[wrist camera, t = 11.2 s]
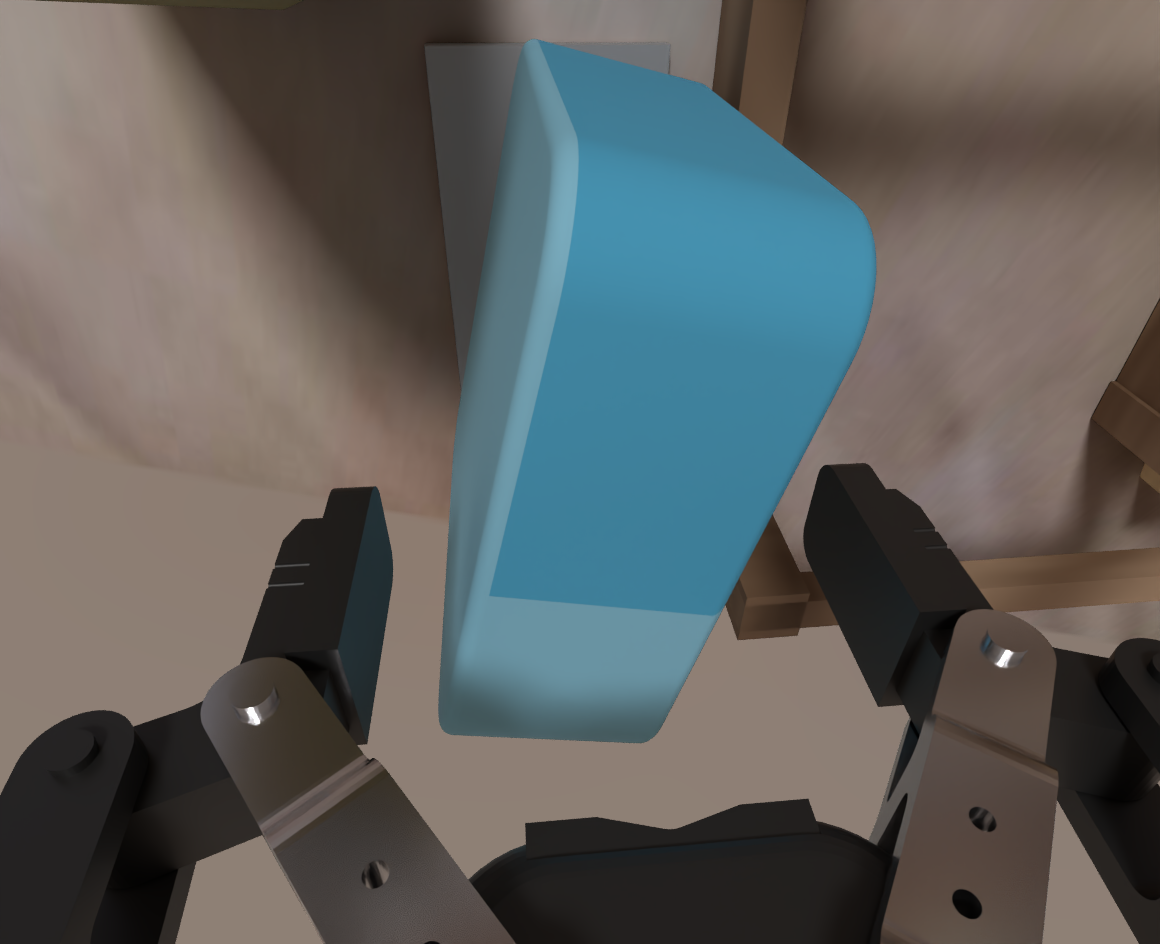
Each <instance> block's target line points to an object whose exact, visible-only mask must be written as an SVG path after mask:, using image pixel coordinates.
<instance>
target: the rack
mask: <svg viewBox="0 0 1160 944" xmlns="http://www.w3.org/2000/svg"><path fill="white" fill-rule="evenodd" d="M806 4H807V0H722V9H721V18H720V27H719V36H718V45H717V54H716V63H715V72H714V82H713V92H714V93H716V94H717V95H718V96H720V97H721V98H722V99H723V100H725V101H726V102H727V103H728V104H730V105H731V106H732V107H734V108H735V109H736V110H737V111H739V112H740V113H741V114H742V115H744V116H745V117H746V118H748V119H749V120H750V121H751V122H753V123H754V124H755V125H756V126H758V127H759V128H760V129H762V130H763V131H764V132H765V133H767V134H768V135H769V136H770V137H772V138H773V139H774V140H776V141H777V142H778V143H779V144H781V145H783V139H784V133H785V127H786V121H787V115H788V110H789V104H790V98H791V92H792V86H793V80H794V74H795V68H796V63H797V57H798V51H799V45H800V39H801V33H802V27H803V22H804V16H805V10H806ZM1092 419H1093V420H1094V421H1095V422H1096V423H1098V424H1099V425H1100V426H1101V427H1102V428H1104V429H1105V430H1106V431H1107V432H1108V433H1110V434H1111V435H1112V436H1113V437H1114V438H1116V439H1117V440H1118V441H1119V442H1120V443H1122V444H1123V445H1124V446H1125V447H1126V448H1128V449H1129V450H1130V451H1131V452H1132V453H1134V454H1135V455H1136V456H1137V457H1138V458H1140V459H1141V460H1142V461H1143V462H1144V463H1146V464H1147V465H1148V466H1149V467H1150V468H1152V469H1153V470H1154V471H1155V472H1156V473H1158V474H1159V475H1160V301H1159V302H1158V304H1157V306H1156V308H1155V310H1154V312H1153V314H1152V315H1151V317H1150V319H1149V321H1148V323H1147V325H1146V327H1145V328H1144V330H1143V332H1142V334H1141V336H1140V338H1139V340H1138V341H1137V343H1136V345H1135V347H1134V349H1133V351H1132V353H1131V355H1130V356H1129V358H1128V360H1127V362H1126V364H1125V366H1124V368H1123V369H1122V371H1121V373H1120V375H1119V377H1118V379H1117V381H1111V382H1110V384H1109V386H1108V388H1107V390H1106V392H1105V394H1104V396H1103V398H1102V399H1101V401H1100V403H1099V405H1098V407H1097V409H1096V411H1095V413H1094V414H1093V416H1092ZM959 562H960V563H961V565H962V566H963V567H964V569H965V570H966V572H967V573H968V574H969V576H970V577H971V579H972V580H973V581H974V583H975V584H976V586H977V587H978V588H979V590H980V591H981V593H982V594H983V595H984V597H985V598H986V600H987V601H988V602H989V604H990V605H991V607H992V608H993V609H994V610H997V611H1001V612H1016V611H1029V610H1042V609H1055V608H1068V607H1082V606H1095V605H1108V604H1121V603H1134V602H1147V601H1160V548H1146V549H1131V550H1117V551H1103V552H1088V553H1074V554H1059V555H1045V556H1030V557H1016V558H1002V559H987V560H973V561H959ZM725 605H726V608H727V611H728V614H729V616H730V619H731V622H732V625H733V628H734V631H735V634H736V636H737V640H746V639H759V638H772V637H784V636H797V635H798V632H799V629H800V628H806V627H819V626H832V625H839V624H838V622H837V620H836V618H835V616H834V614H833V612H832V610H831V608H830V606H829V604H828V602H827V599H826V597H825V595H824V593H823V591H822V589H821V587H820V585H819V583H818V581H817V579H816V577H815V575H814V572H800V571H799V569H798V567H797V565H796V563H795V561H794V559H793V556H792V554H791V552H790V550H789V548H788V546H787V544H786V542H785V540H784V538H783V535H782V533H781V531H780V529H779V527H778V525H777V523H776V521H775V519H774V517H773V514H772V516H771V518H770V520H769V522H768V524H767V526H766V528H765V530H764V532H763V534H762V535H761V537H760V539H759V541H758V543H757V545H756V547H755V549H754V551H753V553H752V555H751V556H750V558H749V560H748V562H747V564H746V566H745V568H744V570H743V572H742V574H741V576H740V578H739V579H738V581H737V583H736V585H735V587H734V589H733V591H732V593H731V595H730V597H729V599H728V601H727V602H726V604H725Z"/></svg>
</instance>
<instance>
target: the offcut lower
mask: <svg viewBox="0 0 1160 944" xmlns="http://www.w3.org/2000/svg"><path fill="white" fill-rule="evenodd" d="M1140 477H1141V478H1142V479H1143V480H1144V481H1146V482H1147V483H1148V484H1149V485H1150V486H1151V487H1152V488H1154V489H1155V490H1156V491H1157V492H1158V493H1159V494H1160V475H1159V474H1158V473H1156V472H1155V471H1154V470H1153V469H1152V468H1150V467H1149V466H1148V465H1147V464H1146V463H1145V464H1144V466H1143V469H1142V471H1141V474H1140Z"/></svg>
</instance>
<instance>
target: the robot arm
mask: <svg viewBox="0 0 1160 944" xmlns="http://www.w3.org/2000/svg"><path fill="white" fill-rule="evenodd" d="M803 539H804V549H805V554H806V557H807V560H808V562H809V564H810V566H811V568H812V570H813V572H814V575H815V577H816V579H817V581H818V583H819V585H820V587H821V589H822V591H823V593H824V595H825V597H826V599H827V602H828V604H829V606H830V608H831V610H832V612H833V614H834V616H835V618H836V620H837V622H838V624H839V626H840V628H841V631H842V633H843V635H844V637H845V639H846V641H847V643H848V645H849V647H850V649H851V651H852V653H853V655H854V658H855V659H856V662H857V664H858V666H859V668H860V670H861V672H862V674H863V676H864V678H865V680H866V683H867V685H868V687H869V689H870V691H871V693H872V695H873V697H874V699H875V701H876V703H877V705H878V707H883V706H896V705H904V706H905V708H906V710H907V712H908V714H909V716H910V718H909V720H908V722H907V724H906V726H905V728H904V732H903V735H902V739H901V742H900V745H899V748H898V752H897V755H896V759H895V762H894V765H893V768H892V772H891V775H890V778H889V782H888V785H887V788H886V792H885V795H884V798H883V802H882V805H881V809H880V812H879V815H878V817H877V821H876V823H875V826H874V828H873V831H872V833H871V836H870V838H869V840H866V839H864V838H862V837H861V836H859V835H857V834H854V833H852V832H849V831H847V830H845V829H842V828H839V827H836V826H833V825H829V824H826V823H823V822H818V821H816V819H815V817H814V814H813V811H812V808H811V805H810V803H809V799H800V800H788V801H776V802H765V803H754V804H742V805H738V806H735V807H733V808H730V809H728V810H725V811H722V812H720V813H717V814H715V815H712V816H709V817H707V818H704V819H701V820H699V821H696V822H694V823H691V824H688V825H686V826H683V827H681V828H677V829H662V828H656V827H650V826H645V825H639V824H633V823H627V822H621V821H615V820H610V819H604V818H598V817H592V818H581V819H569V820H557V821H546V822H535V823H526V824H525V827H526V845H523V846H521V847H518V848H516V849H513V850H510V851H509V852H507V853H505V854H503V855H501V856H499V857H497V858H495V859H494V860H492V861H491V862H490V863H488V864H487V865H486V866H484V867H483V868H481V869H480V870H479V871H478V872H476V873H475V874H474V875H473V876H472V877H471V878H470V879H467V878H466V876H465V875H464V873H463V872H462V871H461V869H460V868H459V867H458V865H457V864H456V863H455V861H454V860H453V859H452V857H451V856H450V855H449V853H448V852H447V850H446V849H445V848H444V847H443V845H442V844H441V842H440V841H439V840H438V838H437V837H436V836H435V834H434V833H433V832H432V830H431V829H430V828H429V827H428V825H427V824H426V822H425V821H424V820H423V819H422V817H421V816H420V814H419V813H418V812H417V810H416V809H415V808H414V806H413V805H412V804H411V802H410V801H409V800H408V798H407V797H406V796H405V794H404V793H403V792H402V790H401V789H400V788H399V786H398V785H397V783H396V782H395V781H394V779H393V778H392V777H391V775H390V774H389V773H388V772H387V770H386V769H385V768H384V767H383V766H382V764H381V763H380V762H379V761H378V760H376V759H375V758H372V759H371V760H369V759H368V758H367V757H366V756H365V755H364V754H363V753H362V751H361V750H360V748H359V747H358V746H357V745H363V744H367V742H368V735H369V729H370V723H371V716H372V710H373V703H374V697H375V690H376V684H377V678H378V671H379V665H380V659H381V652H382V646H383V639H384V633H385V627H386V620H387V614H388V608H389V601H390V594H391V588H392V581H393V559H392V550H391V545H390V541H389V536H388V531H387V526H386V522H385V517H384V512H383V507H382V502H381V498H380V493H379V490H378V488H377V487H376V486H374V487H354V488H334V489H332V490H331V492H330V495H329V498H328V502H327V505H326V509H325V512H324V516H323V518H318V519H317V518H316V519H302V520H301V521H300V522H299V524H298V525H297V526H296V527H295V528H294V529H293V530H292V531H291V532H290V533H289V534H288V536H287V537H286V538H285V539H284V540H283V542H282V545H281V548H280V551H279V553H278V556H277V560H276V562H275V569H273V571H272V574H271V577H270V580H269V583H268V585H269V587H268V588H267V589H266V591H265V595H264V597H263V601H262V603H261V606H260V609H259V612H258V615H257V618H256V621H255V624H254V627H253V629H252V633H251V635H250V638H249V641H248V644H247V647H246V650H245V653H244V656H243V659H242V661H241V663H240V665H238V666H237V667H235V668H233V669H231V670H230V671H228V672H227V673H226V674H224V675H223V676H222V677H220V678H219V679H218V680H217V681H216V682H215V684H214V685H213V686H212V687H211V688H210V690H209V691H208V693H207V694H206V697H205V698H204V700H203V701H202V702H200V703H198V704H196V705H194V706H192V707H189V708H187V709H184V710H181V711H178V712H176V713H173V714H169V715H167V716H163V717H160V718H157V719H154V720H152V721H149V722H146V723H143V724H140V725H137V726H134V727H133V726H132V725H131V723H130V721H129V720H128V719H127V718H126V717H125V716H123V715H121V714H119V713H116V712H113V711H106V710H98V711H90V712H85V713H82V714H78V715H75V716H72V717H70V718H68V719H65V720H63V721H61V722H60V723H58V724H56V725H54V726H53V727H51V728H50V729H48V730H47V731H45V732H44V733H43V734H41V735H40V736H39V737H38V738H36V740H34V741H33V742H32V743H31V745H29V746H28V747H27V749H26V750H25V751H24V752H23V754H22V755H21V756H20V758H19V760H18V762H17V763H16V765H15V767H14V769H13V771H12V773H11V775H10V777H9V779H8V781H7V783H6V785H5V787H4V789H3V791H2V793H1V795H0V944H175V942H176V938H177V934H178V931H179V927H180V922H181V919H182V915H183V911H184V907H185V903H186V900H187V896H188V892H189V888H190V884H191V880H192V876H193V872H194V869H195V865H196V861H199V860H201V859H204V858H206V857H209V856H211V855H214V854H216V853H219V852H221V851H224V850H226V849H229V848H231V847H234V846H236V845H238V844H241V843H243V842H246V841H248V840H251V839H253V838H255V837H258V836H261V835H263V837H264V839H265V841H266V842H267V844H268V846H269V848H270V850H271V852H272V853H273V855H274V857H275V859H276V860H277V862H278V864H279V866H280V868H281V869H282V871H283V873H284V875H285V876H286V878H287V880H288V882H289V884H290V886H291V887H292V889H293V891H294V893H295V894H296V896H297V898H298V900H299V902H300V903H301V905H302V907H303V909H304V911H305V912H306V914H307V916H308V918H309V919H310V921H311V923H312V925H313V926H314V928H315V930H316V932H317V934H318V936H319V937H320V939H321V941H322V943H323V944H1042V940H1043V930H1044V920H1045V911H1046V901H1047V891H1048V882H1049V872H1050V862H1051V851H1052V841H1053V833H1054V822H1055V813H1056V804H1057V801H1058V802H1059V804H1060V806H1061V808H1062V809H1063V811H1064V813H1065V814H1066V816H1067V818H1068V820H1069V821H1070V823H1071V825H1072V827H1073V829H1074V830H1075V832H1076V834H1077V835H1078V837H1079V839H1080V841H1081V843H1082V844H1083V846H1084V848H1085V850H1086V851H1087V853H1088V855H1089V857H1090V858H1091V860H1092V862H1093V864H1094V865H1095V867H1096V869H1097V871H1098V872H1099V874H1100V876H1101V878H1102V879H1103V881H1104V883H1105V885H1106V886H1107V888H1108V890H1109V892H1110V894H1111V895H1112V897H1113V899H1114V901H1115V902H1116V904H1117V906H1118V907H1119V909H1120V911H1121V913H1122V914H1123V916H1124V918H1125V920H1126V922H1127V923H1128V925H1129V927H1130V929H1131V930H1132V932H1133V934H1134V936H1135V937H1136V939H1137V941H1138V943H1139V944H1160V786H1159V785H1158V784H1157V783H1158V782H1159V781H1160V641H1158V640H1154V639H1148V638H1135V639H1129V640H1126V641H1124V642H1122V643H1121V644H1120V645H1119V646H1118V647H1117V648H1116V649H1115V651H1114V652H1113V654H1112V655H1111V656H1110V658H1105V657H1099V656H1093V655H1089V654H1084V653H1078V652H1073V651H1068V650H1062V649H1058V648H1054V647H1052V646H1051V644H1050V643H1049V642H1048V640H1047V639H1046V638H1045V637H1044V636H1043V635H1042V634H1041V633H1040V632H1039V631H1038V630H1037V629H1036V628H1034V627H1033V626H1032V625H1030V624H1029V623H1027V622H1025V621H1024V620H1022V619H1020V618H1018V617H1016V616H1013V615H1011V614H1008V613H1005V612H1001V611H997V610H994V609H993V608H992V607H991V605H990V604H989V602H988V601H987V600H986V598H985V597H984V595H983V594H982V593H981V591H980V590H979V588H978V587H977V586H976V584H975V583H974V581H973V580H972V579H971V577H970V576H969V574H968V573H967V572H966V570H965V569H964V567H963V566H962V565H961V563H960V562H959V560H958V559H957V558H956V556H955V555H954V554H953V552H952V551H951V549H947V544H946V542H945V541H944V540H943V538H942V537H941V535H940V534H939V533H938V532H935V527H934V526H933V524H932V523H931V521H930V520H929V519H928V517H927V516H926V514H925V513H924V512H923V510H922V509H921V507H920V506H918V505H917V504H916V503H914V502H913V501H912V500H910V499H909V498H908V497H906V496H905V495H904V494H902V493H901V492H899V491H898V490H897V489H885V487H884V486H883V484H882V483H881V481H880V480H879V478H878V477H877V475H876V474H875V472H874V471H873V469H872V468H871V467H870V466H869V465H868V464H866V463H856V464H836V465H825V466H823V467H822V468H821V469H820V471H819V474H818V477H817V481H816V485H815V489H814V492H813V496H812V500H811V504H810V507H809V511H808V515H807V519H806V522H805V526H804V535H803Z"/></svg>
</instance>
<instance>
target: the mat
mask: <svg viewBox="0 0 1160 944" xmlns="http://www.w3.org/2000/svg"><path fill="white" fill-rule="evenodd" d="M524 44H525V43H425V45H424V48H425V57H426V67H427V76H428V86H429V95H430V104H431V114H432V123H433V133H434V142H435V152H436V161H437V170H438V180H439V189H440V199H441V208H442V217H443V227H444V236H445V246H446V255H447V264H448V274H449V283H450V293H451V302H452V311H453V321H454V330H455V340H456V349H457V358H458V368H459V377H460V387H461V391H462V385H463V380H464V374H465V368H466V362H467V356H468V350H469V344H470V338H471V332H472V326H473V320H474V314H475V308H476V302H477V296H478V290H479V284H480V278H481V272H482V266H483V260H484V254H485V248H486V242H487V236H488V230H489V225H490V219H491V213H492V207H493V201H494V195H495V189H496V183H497V177H498V171H499V165H500V159H501V153H502V147H503V141H504V135H505V129H506V123H507V117H508V111H509V105H510V99H511V94H512V88H513V83H514V78H515V73H516V68H517V64H518V60H519V56H520V53H521V50H522V47H523V46H524ZM552 44H556V45H560V46H564V47H567V48H571V49H575V50H579V51H582V52H586V53H590V54H593V55H597V56H601V57H605V58H608V59H612V60H616V61H620V62H623V63H627V64H631V65H635V66H638V67H642V68H646V69H650V70H653V71H657V72H661V73H664V74H668V71H669V57H670V44H669V43H552Z"/></svg>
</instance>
